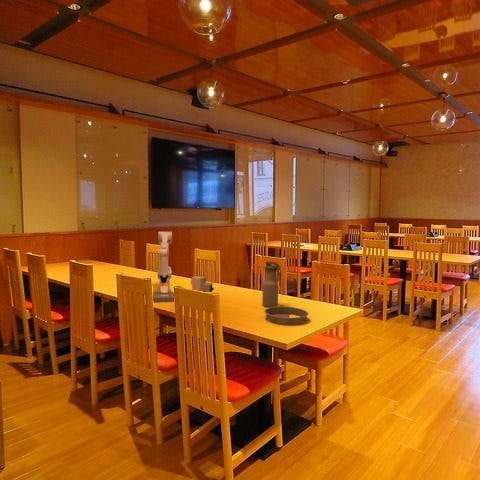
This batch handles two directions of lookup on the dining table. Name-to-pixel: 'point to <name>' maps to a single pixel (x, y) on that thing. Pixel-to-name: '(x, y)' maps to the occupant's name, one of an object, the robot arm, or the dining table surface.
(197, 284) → the circuit breaker
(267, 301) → the water bottle
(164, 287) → the toggle lever
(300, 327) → the dining table surface
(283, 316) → the cake pan
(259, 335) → the dining table surface
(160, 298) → the panel
